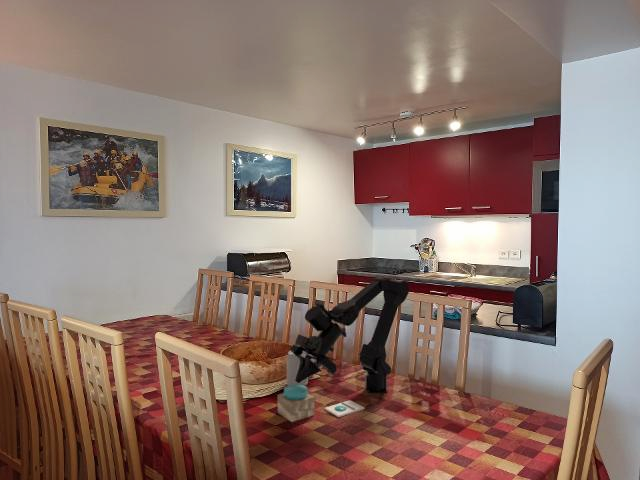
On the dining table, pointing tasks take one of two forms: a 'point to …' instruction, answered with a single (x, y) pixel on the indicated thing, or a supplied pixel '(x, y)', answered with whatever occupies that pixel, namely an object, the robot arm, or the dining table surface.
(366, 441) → the dining table surface
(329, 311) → the robot arm
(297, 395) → the button
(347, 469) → the dining table surface
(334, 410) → the pattern card
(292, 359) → the can
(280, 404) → the marble textured cube
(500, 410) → the dining table surface
